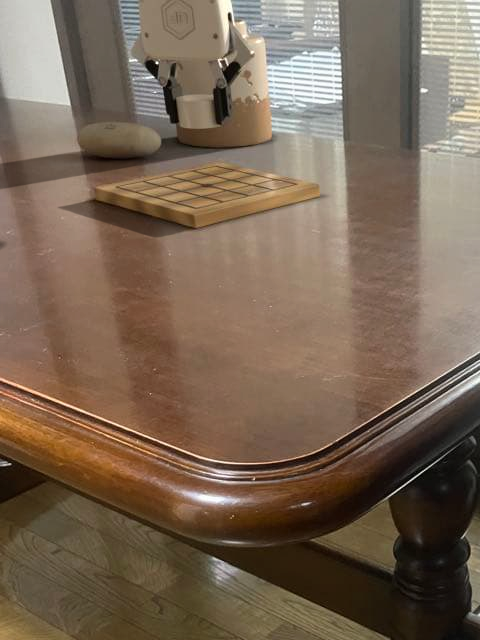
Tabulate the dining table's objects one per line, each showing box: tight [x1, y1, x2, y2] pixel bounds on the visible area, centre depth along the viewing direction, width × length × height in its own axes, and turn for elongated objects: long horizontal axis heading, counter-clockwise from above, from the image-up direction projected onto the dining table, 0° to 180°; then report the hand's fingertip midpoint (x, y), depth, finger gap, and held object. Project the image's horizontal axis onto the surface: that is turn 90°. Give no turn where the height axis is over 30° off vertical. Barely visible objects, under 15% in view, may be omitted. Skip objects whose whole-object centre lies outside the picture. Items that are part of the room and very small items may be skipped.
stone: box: [76, 121, 162, 160], centre depth 130 cm, size 6×6×12 cm
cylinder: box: [176, 94, 221, 129], centre depth 106 cm, size 5×5×3 cm
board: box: [93, 161, 321, 229], centre depth 111 cm, size 20×20×2 cm
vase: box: [175, 18, 273, 148], centre depth 139 cm, size 15×15×17 cm
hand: (200, 120), depth 106 cm, fingers closed on cylinder, 5 cm apart
